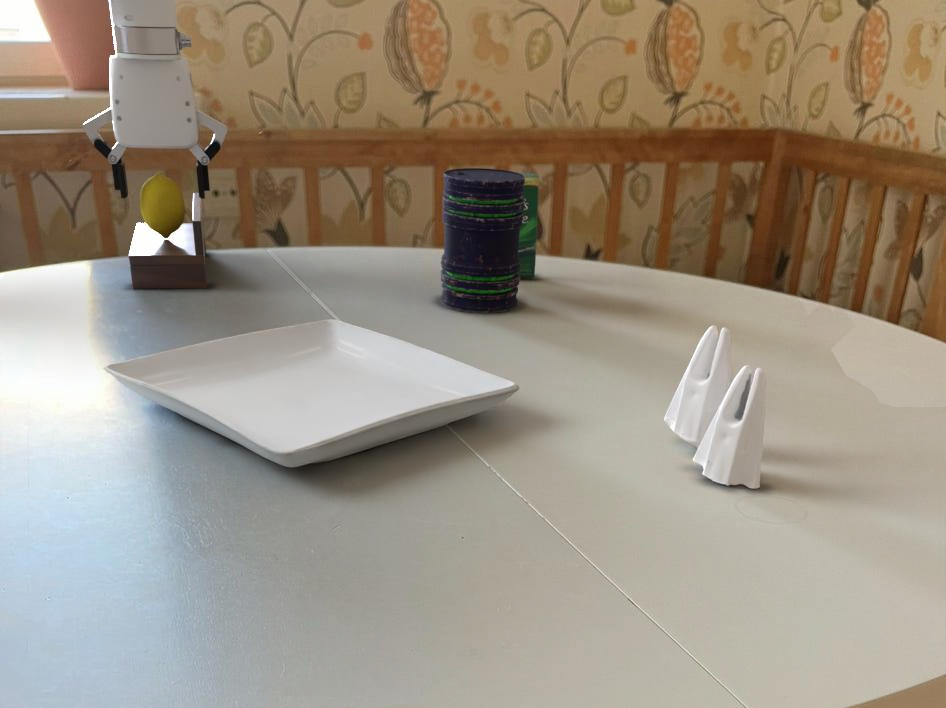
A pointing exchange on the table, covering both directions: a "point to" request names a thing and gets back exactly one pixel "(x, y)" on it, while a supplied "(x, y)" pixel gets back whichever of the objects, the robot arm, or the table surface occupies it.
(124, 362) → the square plate
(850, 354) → the table surface
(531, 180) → the coffee box
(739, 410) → the shaker set
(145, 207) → the lemon
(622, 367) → the table surface
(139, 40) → the robot arm
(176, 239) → the block with corner post
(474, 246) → the navy striped canister
